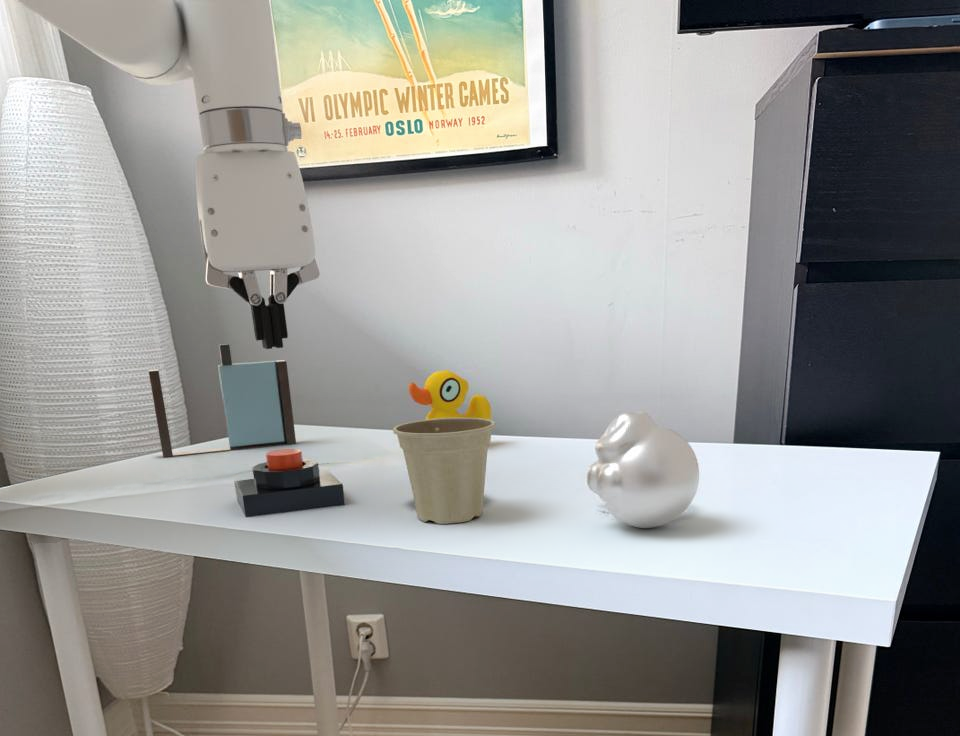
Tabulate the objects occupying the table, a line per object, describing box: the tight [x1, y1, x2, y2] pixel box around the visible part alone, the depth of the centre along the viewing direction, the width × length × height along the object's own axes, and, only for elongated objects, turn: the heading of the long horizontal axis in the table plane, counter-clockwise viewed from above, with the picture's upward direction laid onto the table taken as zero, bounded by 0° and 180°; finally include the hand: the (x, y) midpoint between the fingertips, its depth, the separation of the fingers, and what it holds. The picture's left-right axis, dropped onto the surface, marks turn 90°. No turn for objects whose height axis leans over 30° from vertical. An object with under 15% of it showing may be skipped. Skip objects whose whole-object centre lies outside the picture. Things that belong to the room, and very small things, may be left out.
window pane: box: [218, 343, 284, 447], centre depth 120 cm, size 7×1×13 cm, turn 110°
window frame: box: [148, 359, 297, 459], centre depth 120 cm, size 17×2×12 cm, turn 110°
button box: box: [233, 458, 346, 518], centre depth 96 cm, size 10×8×4 cm
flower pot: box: [392, 418, 496, 525], centre depth 87 cm, size 9×9×9 cm
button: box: [265, 448, 303, 469], centre depth 95 cm, size 4×4×2 cm
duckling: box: [408, 369, 492, 420], centre depth 121 cm, size 11×5×10 cm, turn 119°
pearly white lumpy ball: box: [586, 411, 700, 529], centre depth 80 cm, size 9×10×10 cm
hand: (272, 347), depth 91 cm, fingers closed
